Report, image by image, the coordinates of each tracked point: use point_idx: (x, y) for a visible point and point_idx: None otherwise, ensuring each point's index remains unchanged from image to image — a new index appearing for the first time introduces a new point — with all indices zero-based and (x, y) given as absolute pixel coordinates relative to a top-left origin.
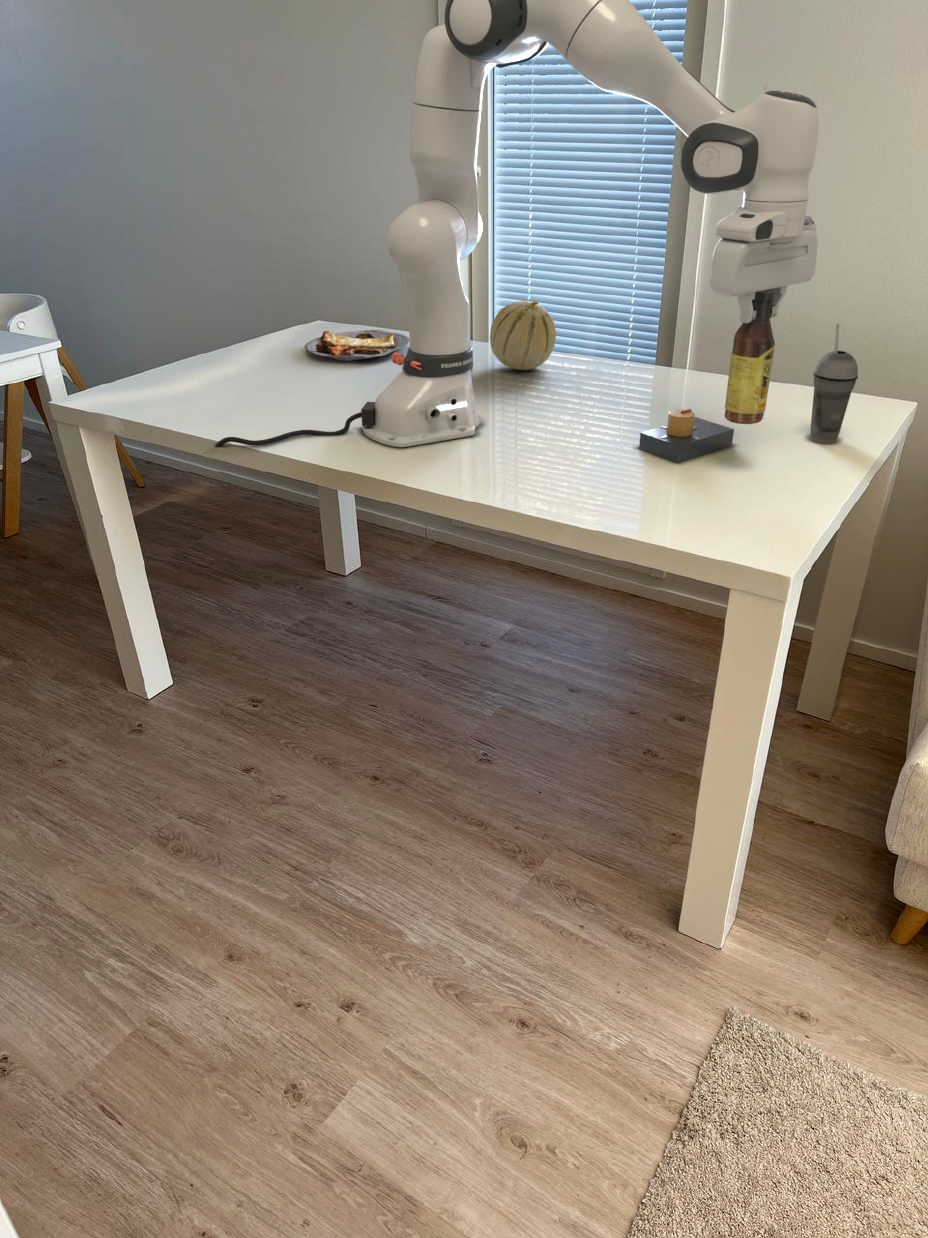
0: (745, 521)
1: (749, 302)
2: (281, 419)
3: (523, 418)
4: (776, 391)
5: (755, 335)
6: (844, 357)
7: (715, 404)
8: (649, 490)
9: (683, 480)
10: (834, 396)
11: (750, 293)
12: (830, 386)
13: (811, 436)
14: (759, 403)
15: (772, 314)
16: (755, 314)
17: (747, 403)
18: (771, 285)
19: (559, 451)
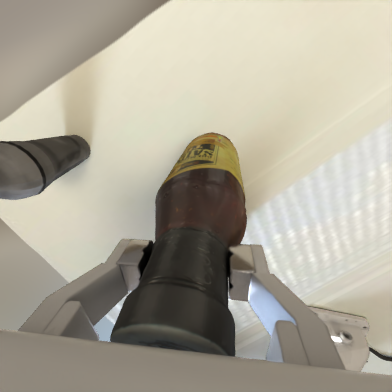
0: (336, 20)
1: (308, 310)
2: (363, 371)
3: (250, 306)
4: (46, 243)
5: (234, 207)
6: None
7: (110, 252)
8: (320, 158)
9: (272, 156)
10: (45, 148)
11: (334, 365)
12: (41, 156)
13: (87, 155)
14: (215, 137)
15: (143, 244)
16: (233, 258)
17: (232, 147)
18: (172, 374)
19: (290, 258)
